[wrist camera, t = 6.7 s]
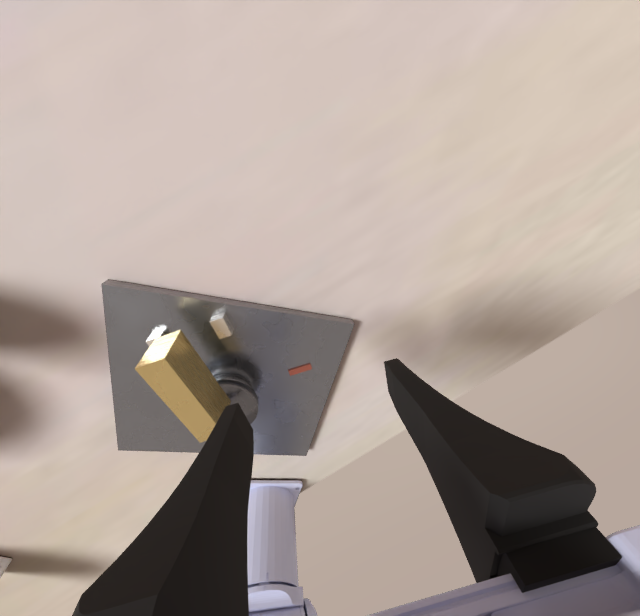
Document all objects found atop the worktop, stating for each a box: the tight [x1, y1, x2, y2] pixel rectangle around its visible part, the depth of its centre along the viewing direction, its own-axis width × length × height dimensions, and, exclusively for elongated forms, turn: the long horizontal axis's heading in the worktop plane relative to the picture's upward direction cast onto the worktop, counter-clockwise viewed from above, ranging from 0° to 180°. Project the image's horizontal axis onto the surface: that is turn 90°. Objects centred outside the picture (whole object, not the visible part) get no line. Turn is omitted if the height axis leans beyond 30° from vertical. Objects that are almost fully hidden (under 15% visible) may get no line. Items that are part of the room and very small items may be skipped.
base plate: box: [102, 280, 354, 456], centre depth 23 cm, size 17×18×2 cm
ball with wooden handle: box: [135, 330, 259, 443], centre depth 19 cm, size 11×5×4 cm, turn 17°
